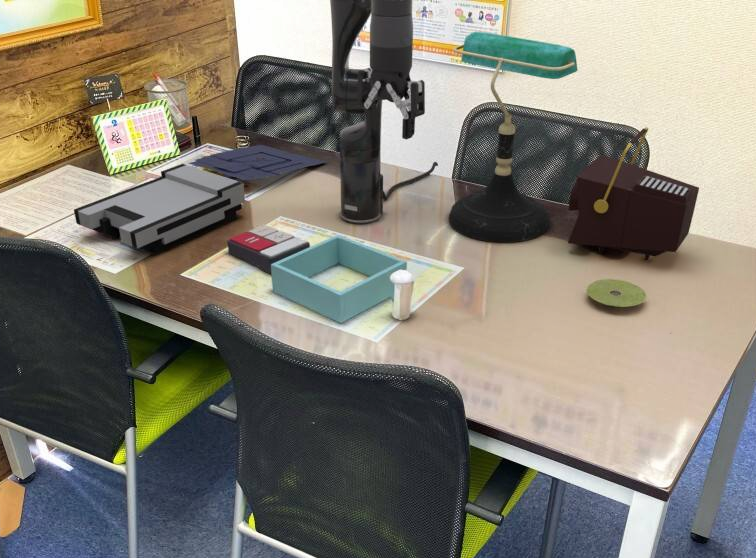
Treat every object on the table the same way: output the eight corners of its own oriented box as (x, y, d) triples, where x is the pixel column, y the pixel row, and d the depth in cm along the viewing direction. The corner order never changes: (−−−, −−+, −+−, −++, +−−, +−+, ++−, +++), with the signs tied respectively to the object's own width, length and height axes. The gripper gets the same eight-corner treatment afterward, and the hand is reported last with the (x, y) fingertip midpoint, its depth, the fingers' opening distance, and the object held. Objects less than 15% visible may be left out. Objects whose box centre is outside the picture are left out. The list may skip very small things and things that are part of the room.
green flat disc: (648, 293, 171) (650, 285, 170) (639, 319, 163) (641, 310, 162) (591, 283, 175) (593, 274, 174) (579, 308, 167) (581, 299, 166)
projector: (584, 225, 199) (601, 116, 184) (687, 247, 189) (714, 133, 174) (559, 252, 187) (575, 138, 173) (668, 277, 177) (694, 157, 163)
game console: (79, 238, 194) (72, 204, 189) (186, 195, 215) (182, 163, 210) (139, 264, 184) (133, 228, 179) (246, 216, 204) (243, 183, 199)
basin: (338, 260, 184) (337, 234, 181) (406, 288, 174) (407, 261, 170) (272, 291, 173) (270, 264, 170) (341, 323, 162) (340, 295, 159)
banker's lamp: (573, 221, 201) (600, 39, 178) (521, 254, 186) (543, 60, 163) (478, 193, 215) (491, 21, 192) (422, 222, 200) (430, 40, 177)
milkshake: (383, 310, 166) (384, 263, 161) (411, 309, 167) (413, 262, 161) (386, 322, 163) (387, 274, 157) (414, 321, 163) (416, 273, 157)
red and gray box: (265, 222, 192) (310, 239, 183) (267, 240, 194) (311, 258, 185) (225, 237, 186) (270, 255, 176) (228, 256, 188) (272, 274, 179)
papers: (182, 172, 224) (182, 158, 223) (260, 154, 246) (260, 141, 244) (251, 193, 212) (251, 178, 211) (327, 172, 234) (328, 158, 232)
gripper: (436, 43, 149) (432, 136, 158) (375, 31, 157) (374, 120, 166) (408, 51, 144) (406, 147, 154) (346, 38, 152) (347, 129, 162)
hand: (389, 133), depth 160 cm, fingers open, 8 cm apart
